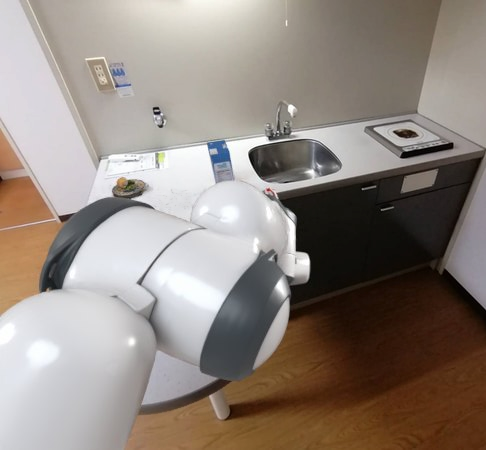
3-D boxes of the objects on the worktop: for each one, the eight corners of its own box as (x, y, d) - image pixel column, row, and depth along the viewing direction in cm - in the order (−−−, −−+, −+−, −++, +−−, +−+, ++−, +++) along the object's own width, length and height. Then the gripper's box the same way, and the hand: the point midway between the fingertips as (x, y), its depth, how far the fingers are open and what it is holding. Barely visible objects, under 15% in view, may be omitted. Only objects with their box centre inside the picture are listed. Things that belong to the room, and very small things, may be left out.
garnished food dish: (147, 194, 117) (140, 177, 112) (113, 202, 113) (105, 185, 108) (144, 179, 125) (138, 163, 121) (113, 187, 121) (105, 170, 117)
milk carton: (238, 201, 113) (229, 151, 100) (221, 205, 112) (210, 155, 99) (233, 187, 120) (224, 139, 107) (217, 190, 119) (206, 142, 106)
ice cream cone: (259, 226, 102) (255, 188, 92) (271, 218, 105) (268, 180, 96) (271, 233, 99) (268, 195, 90) (283, 224, 103) (281, 187, 93)
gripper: (248, 231, 82) (196, 231, 82) (236, 293, 66) (172, 293, 66) (251, 247, 86) (202, 248, 86) (240, 310, 70) (180, 310, 70)
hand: (188, 268), depth 76 cm, fingers open, 8 cm apart
